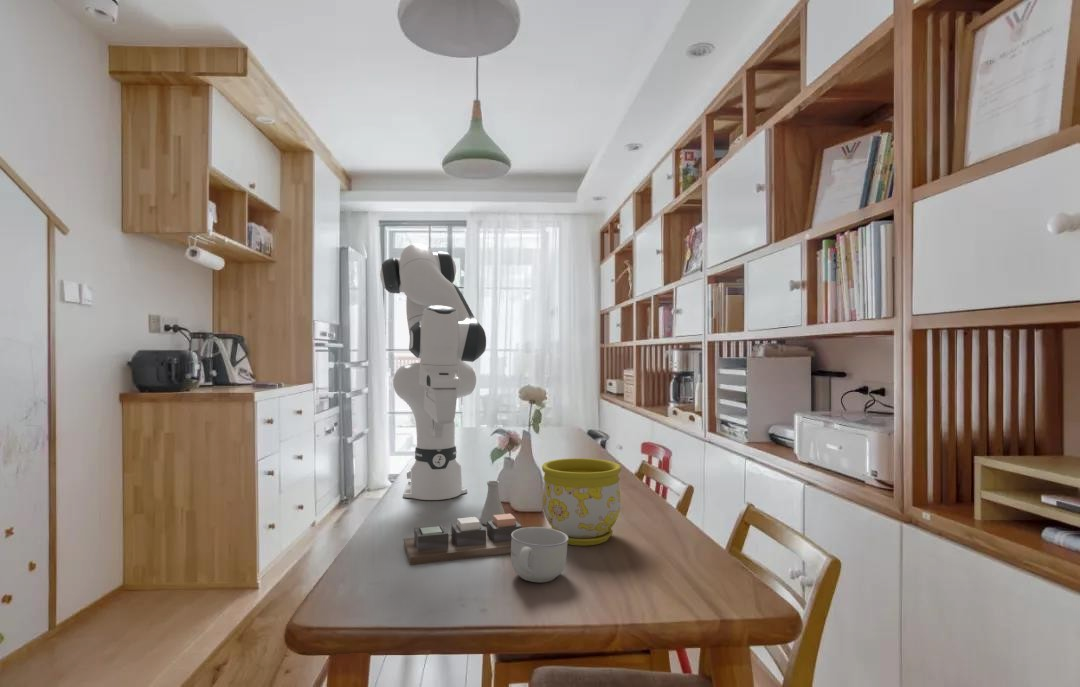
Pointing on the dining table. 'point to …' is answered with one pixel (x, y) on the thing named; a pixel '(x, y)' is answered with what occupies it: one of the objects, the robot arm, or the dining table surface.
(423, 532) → the sage button
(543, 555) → the teacup
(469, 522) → the cream button
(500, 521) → the terracotta button
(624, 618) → the dining table surface
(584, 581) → the dining table surface
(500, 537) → the button console
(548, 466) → the flowerpot
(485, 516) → the flask
